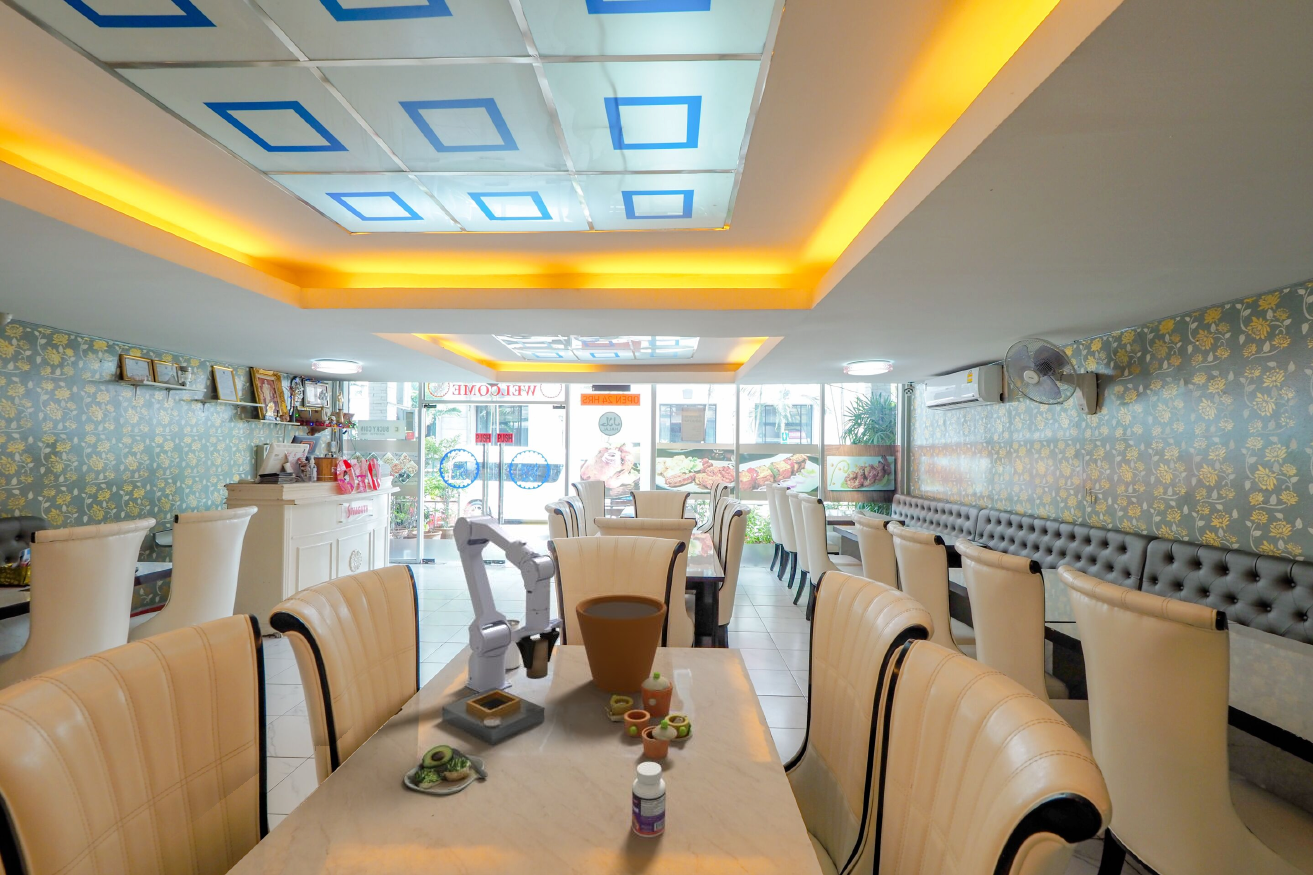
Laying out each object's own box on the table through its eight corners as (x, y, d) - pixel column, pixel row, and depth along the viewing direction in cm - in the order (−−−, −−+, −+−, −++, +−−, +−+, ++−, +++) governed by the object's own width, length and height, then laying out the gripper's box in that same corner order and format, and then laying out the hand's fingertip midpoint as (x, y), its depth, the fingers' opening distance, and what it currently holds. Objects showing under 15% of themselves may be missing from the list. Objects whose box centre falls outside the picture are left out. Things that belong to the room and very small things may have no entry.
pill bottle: (631, 818, 96) (631, 759, 96) (663, 817, 96) (664, 758, 96) (632, 840, 90) (633, 778, 91) (666, 839, 91) (667, 776, 91)
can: (523, 661, 165) (524, 619, 165) (516, 670, 159) (516, 626, 159) (501, 660, 166) (502, 618, 166) (493, 669, 159) (494, 625, 160)
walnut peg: (521, 675, 138) (522, 641, 138) (538, 669, 142) (538, 636, 142) (535, 680, 135) (536, 646, 135) (552, 674, 139) (552, 640, 139)
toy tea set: (600, 712, 135) (600, 670, 135) (660, 700, 141) (660, 661, 142) (644, 769, 111) (644, 718, 111) (714, 752, 118) (714, 704, 118)
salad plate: (506, 765, 112) (506, 747, 112) (461, 806, 99) (462, 785, 99) (442, 752, 117) (443, 734, 117) (392, 789, 104) (393, 770, 104)
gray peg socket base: (442, 720, 129) (442, 699, 129) (494, 699, 140) (494, 680, 141) (491, 746, 118) (492, 724, 118) (544, 721, 129) (544, 700, 130)
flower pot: (556, 680, 152) (558, 604, 153) (626, 659, 168) (627, 590, 169) (612, 711, 135) (613, 625, 135) (684, 684, 151) (685, 607, 151)
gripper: (524, 617, 130) (524, 677, 130) (571, 603, 142) (570, 659, 142) (505, 611, 135) (504, 670, 134) (552, 599, 146) (551, 653, 146)
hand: (537, 664), depth 138 cm, fingers closed on walnut peg, 5 cm apart
